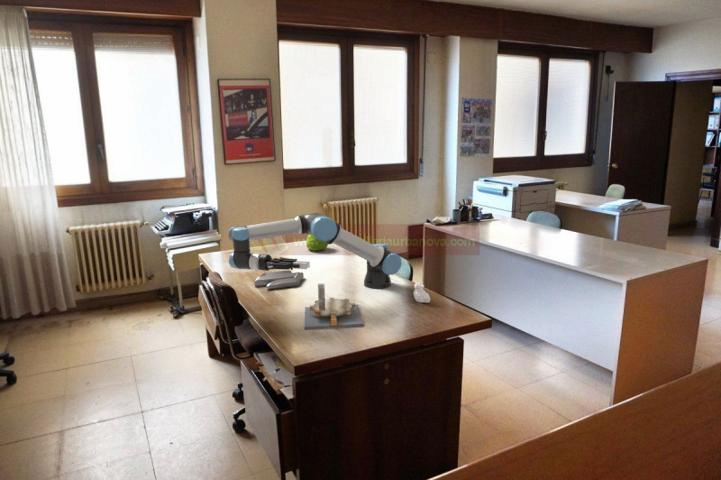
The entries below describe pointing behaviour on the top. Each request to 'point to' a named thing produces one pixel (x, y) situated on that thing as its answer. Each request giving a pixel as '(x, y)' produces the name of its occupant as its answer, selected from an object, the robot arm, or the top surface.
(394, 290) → the top surface
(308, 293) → the top surface
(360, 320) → the sprocket stand
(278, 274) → the grey flat lobed piece
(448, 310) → the top surface
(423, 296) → the duck figurine
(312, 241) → the lettuce
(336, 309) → the white lobed piece
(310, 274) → the top surface
